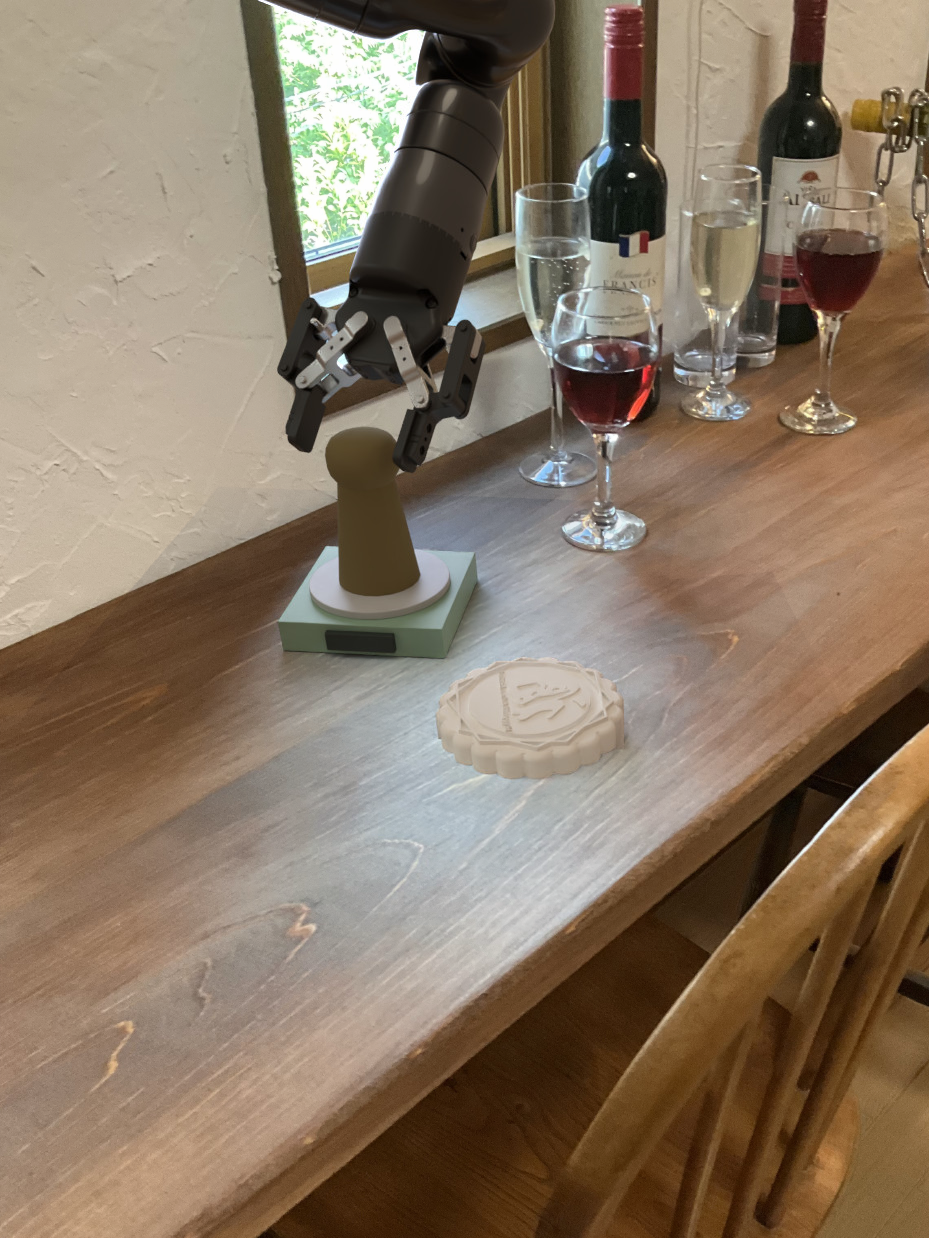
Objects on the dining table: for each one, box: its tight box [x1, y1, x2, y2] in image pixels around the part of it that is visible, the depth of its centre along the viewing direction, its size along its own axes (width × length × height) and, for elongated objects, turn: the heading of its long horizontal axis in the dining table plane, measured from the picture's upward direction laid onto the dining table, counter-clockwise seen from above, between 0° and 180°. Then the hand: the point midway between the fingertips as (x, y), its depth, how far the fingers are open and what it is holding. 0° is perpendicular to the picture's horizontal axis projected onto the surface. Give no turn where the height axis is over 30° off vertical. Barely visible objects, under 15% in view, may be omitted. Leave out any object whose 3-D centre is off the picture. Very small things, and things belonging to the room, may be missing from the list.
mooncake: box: [435, 656, 625, 780], centre depth 82 cm, size 12×12×4 cm
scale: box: [277, 545, 479, 659], centre depth 95 cm, size 12×12×3 cm
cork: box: [324, 426, 421, 596], centre depth 91 cm, size 6×6×11 cm
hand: (349, 457), depth 87 cm, fingers open, 8 cm apart
